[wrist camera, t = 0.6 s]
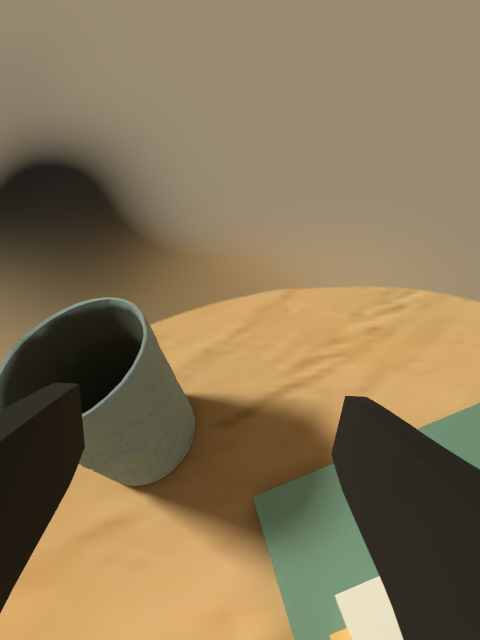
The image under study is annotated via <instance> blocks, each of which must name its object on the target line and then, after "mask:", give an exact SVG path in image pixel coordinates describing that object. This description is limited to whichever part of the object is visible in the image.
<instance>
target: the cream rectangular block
mask: <svg viewBox="0 0 480 640" xmlns="http://www.w3.org/2000/svg"><path fill="white" fill-rule="evenodd" d="M335 597H336V601H337V604H338V607H339V609H340V612H341V614H342V617H343V619H344V622H345V625H346V628H344V629H342V630H339V631H337V632H335V633H332V634H331V635H330V639H331V640H403V637H402V634H401V631H400V628H399V626H398V623H397V620H396V617H395V614H394V611H393V608H392V605H391V603H390V600H389V598H388V595H387V593H386V590H385V588H384V585H383V583H382V581H381V578H380V576H378V577H376V578H373V579H371V580H369V581H366V582H364V583H362V584H360V585H357V586H355V587H353V588H350V589H348V590H346V591H343V592H341V593H339V594H336V595H335Z"/></svg>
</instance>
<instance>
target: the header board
mask: <svg viewBox="0 0 480 640" xmlns="http://www.w3.org/2000/svg"><path fill="white" fill-rule="evenodd" d="M417 430H419V431H420V432H422V433H423V434H425V435H426V436H428V437H429V438H431V439H432V440H434V441H435V442H437V443H438V444H440V445H441V446H443V447H445V448H446V449H448V450H449V451H451V452H452V453H454V454H456V455H457V456H459V457H460V458H462V459H463V460H465V461H467V462H468V463H470V464H472V465H473V466H475V467H477V468H478V469H480V403H479V404H476V405H474V406H472V407H469V408H467V409H464V410H462V411H459V412H457V413H455V414H452V415H450V416H447V417H445V418H442V419H440V420H438V421H435V422H433V423H430V424H428V425H426V426H423V427H421V428H418V429H417ZM253 501H254V504H255V508H256V511H257V514H258V518H259V521H260V524H261V528H262V531H263V534H264V538H265V541H266V545H267V548H268V551H269V555H270V558H271V561H272V565H273V568H274V571H275V575H276V578H277V582H278V585H279V588H280V592H281V595H282V598H283V602H284V605H285V609H286V612H287V615H288V619H289V622H290V625H291V629H292V632H293V635H294V639H295V640H331V639H330V635H331V634H332V633H335V632H337V631H339V630H342V629H344V628H346V625H345V622H344V619H343V617H342V614H341V612H340V609H339V607H338V604H337V601H336V597H335V595H336V594H339V593H341V592H343V591H346V590H348V589H350V588H353V587H355V586H357V585H360V584H362V583H364V582H366V581H369V580H371V579H373V578H376V577H378V576H379V574H378V571H377V569H376V567H375V565H374V562H373V560H372V558H371V556H370V553H369V551H368V549H367V546H366V544H365V542H364V540H363V537H362V535H361V533H360V531H359V528H358V526H357V524H356V521H355V519H354V517H353V515H352V512H351V510H350V508H349V505H348V503H347V501H346V498H345V496H344V493H343V491H342V488H341V485H340V482H339V479H338V475H337V472H336V469H335V465H334V463H333V464H331V465H329V466H326V467H324V468H321V469H319V470H316V471H314V472H312V473H309V474H307V475H304V476H302V477H299V478H297V479H295V480H292V481H290V482H287V483H285V484H282V485H280V486H278V487H275V488H273V489H270V490H268V491H266V492H263V493H261V494H258V495H256V496H253Z"/></svg>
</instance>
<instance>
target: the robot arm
mask: <svg viewBox="0 0 480 640" xmlns="http://www.w3.org/2000/svg"><path fill="white" fill-rule="evenodd" d="M84 448H85V442H84V431H83V420H82V409H81V398H80V387H79V384H72V383H53V384H51V385H49V386H46V387H44V388H42V389H40V390H38V391H36V392H34V393H33V394H31V395H29V396H27V397H25V398H23V399H21V400H19V401H17V402H16V403H14V404H12V405H10V406H8V407H6V408H4V409H3V410H1V411H0V613H1V611H2V609H3V607H4V605H5V603H6V601H7V599H8V597H9V595H10V593H11V591H12V589H13V587H14V585H15V583H16V582H17V580H18V578H19V576H20V574H21V573H22V571H23V569H24V567H25V565H26V564H27V562H28V560H29V558H30V556H31V555H32V553H33V551H34V549H35V547H36V546H37V544H38V542H39V540H40V538H41V537H42V535H43V533H44V531H45V529H46V528H47V526H48V524H49V522H50V520H51V519H52V517H53V515H54V513H55V511H56V509H57V508H58V506H59V504H60V502H61V500H62V498H63V497H64V495H65V493H66V491H67V489H68V487H69V485H70V483H71V481H72V478H73V476H74V474H75V471H76V469H77V466H78V464H79V461H80V459H81V456H82V453H83V451H84ZM332 458H333V461H334V465H335V469H336V472H337V475H338V479H339V482H340V485H341V488H342V491H343V493H344V496H345V498H346V501H347V503H348V505H349V508H350V510H351V512H352V515H353V517H354V519H355V521H356V524H357V526H358V528H359V531H360V533H361V535H362V537H363V540H364V542H365V544H366V546H367V549H368V551H369V553H370V556H371V558H372V560H373V562H374V565H375V567H376V569H377V571H378V574H379V576H380V578H381V581H382V583H383V585H384V588H385V590H386V593H387V595H388V598H389V600H390V603H391V605H392V608H393V611H394V614H395V617H396V620H397V623H398V626H399V628H400V631H401V634H402V637H403V640H480V469H478V468H477V467H475V466H473V465H472V464H470V463H468V462H467V461H465V460H463V459H462V458H460V457H459V456H457V455H456V454H454V453H452V452H451V451H449V450H448V449H446V448H445V447H443V446H441V445H440V444H438V443H437V442H435V441H434V440H432V439H431V438H429V437H428V436H426V435H425V434H423V433H422V432H420V431H419V430H417V429H416V428H414V427H413V426H411V425H410V424H408V423H407V422H405V421H404V420H402V419H401V418H399V417H398V416H396V415H395V414H393V413H392V412H390V411H389V410H387V409H386V408H384V407H383V406H381V405H379V404H378V403H376V402H374V401H373V400H371V399H369V398H367V397H357V396H345V399H344V404H343V408H342V412H341V416H340V420H339V425H338V429H337V433H336V437H335V441H334V446H333V450H332Z"/></svg>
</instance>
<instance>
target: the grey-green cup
mask: <svg viewBox="0 0 480 640" xmlns="http://www.w3.org/2000/svg"><path fill="white" fill-rule="evenodd" d="M53 383H72V384H79V387H80V398H81V409H82V420H83V431H84V442H85V448H84V451H83V453H82V456H81V459H80V461H79V464H81V465H82V466H83V467H86V468H88V469H92V470H93V471H94V472H97V473H99V474H101V475H104V476H106V477H108V478H110V479H112V480H114V481H116V482H118V483H121V484H124V485H129V486H142V485H147V484H151V483H154V482H156V481H158V480H160V479H162V478H164V477H165V476H167V475H168V474H170V473H171V472H172V471H173V470H174V469H175V468H176V467H177V466H178V465H179V464H180V463H181V462H182V461H183V459H184V458H185V456H186V454H187V453H188V451H189V449H190V447H191V445H192V442H193V439H194V434H195V424H196V423H195V416H194V411H193V409H192V407H191V405H190V403H189V401H188V399H187V397H186V395H185V394H184V392H183V390H182V389H181V387H180V385H179V383H178V382H177V380H176V377H175V375H174V373H173V371H172V369H171V367H170V365H169V363H168V362H167V360H166V358H165V356H164V354H163V353H162V351H161V349H160V347H159V344H158V342H157V339H156V337H155V335H154V333H153V331H152V329H151V327H150V325H149V323H148V321H147V319H146V317H145V315H144V314H143V312H142V311H141V310H140V309H139V307H137V306H136V305H135V304H133V303H132V302H129V301H127V300H124V299H120V298H97V299H93V300H87V301H84V302H80V303H77V304H75V305H72V306H70V307H68V308H65V309H63V310H61V311H59V312H58V313H56V314H54V315H53V316H51V317H49V318H47V319H45V320H44V321H43V322H42V323H40V324H39V325H37V326H36V327H35V328H34V329H32V330H31V331H29V332H28V333H27V334H26V335H25V336H24V337H23V338H22V339H21V340H20V341H19V342H18V343H17V344H16V345H15V346H14V347H13V348H12V350H11V351H10V352H9V353H8V354H7V356H6V357H5V359H4V360H3V362H2V364H1V365H0V411H1V410H3V409H4V408H6V407H8V406H10V405H12V404H14V403H16V402H17V401H19V400H21V399H23V398H25V397H27V396H29V395H31V394H33V393H34V392H36V391H38V390H40V389H42V388H44V387H46V386H49V385H51V384H53Z"/></svg>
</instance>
